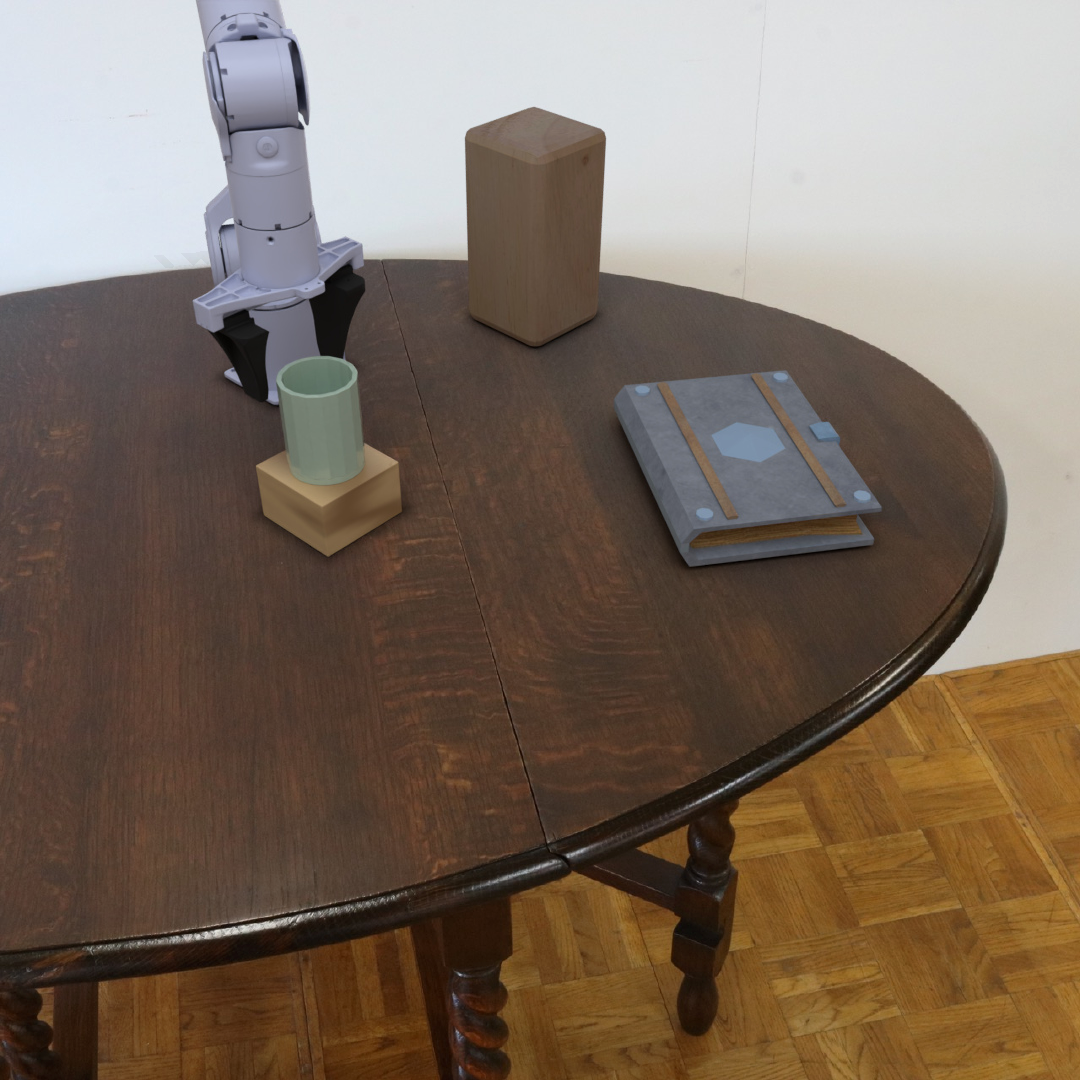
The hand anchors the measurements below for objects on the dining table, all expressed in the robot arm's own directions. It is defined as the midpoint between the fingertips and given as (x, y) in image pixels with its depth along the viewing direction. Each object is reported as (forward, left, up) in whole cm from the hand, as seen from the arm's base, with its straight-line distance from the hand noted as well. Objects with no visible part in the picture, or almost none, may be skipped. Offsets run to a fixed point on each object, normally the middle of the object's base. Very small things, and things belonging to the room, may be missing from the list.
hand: (295, 377), depth 94 cm
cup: (+2, +5, -5) cm, 7 cm away
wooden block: (-34, -5, -11) cm, 36 cm away
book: (-24, +27, -11) cm, 38 cm away
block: (+2, +5, -10) cm, 12 cm away
